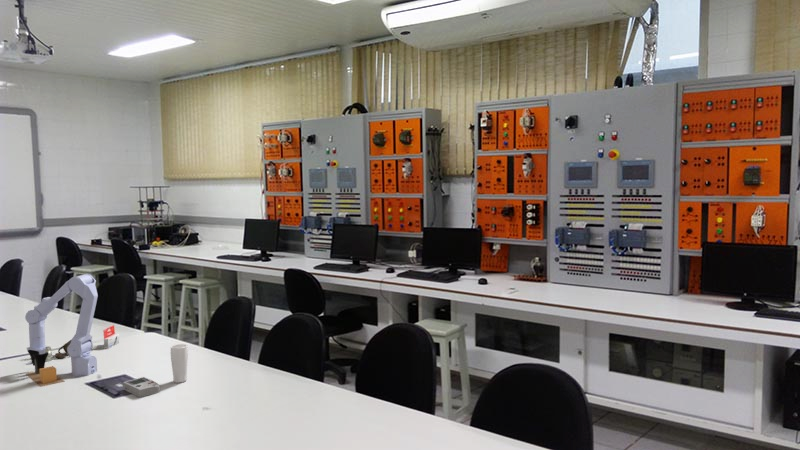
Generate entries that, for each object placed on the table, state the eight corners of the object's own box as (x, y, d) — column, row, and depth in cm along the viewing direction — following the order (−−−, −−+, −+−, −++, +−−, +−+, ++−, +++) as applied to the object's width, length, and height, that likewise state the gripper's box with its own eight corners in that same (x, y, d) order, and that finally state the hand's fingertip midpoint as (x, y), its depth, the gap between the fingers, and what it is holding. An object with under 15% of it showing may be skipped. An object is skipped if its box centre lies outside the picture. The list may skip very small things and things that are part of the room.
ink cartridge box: (119, 343, 308) (118, 324, 307) (108, 349, 297) (107, 330, 296) (114, 343, 308) (113, 324, 307) (103, 349, 297) (102, 330, 296)
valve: (56, 360, 278) (46, 355, 286) (55, 346, 278) (45, 342, 285) (41, 363, 273) (31, 359, 280) (40, 349, 273) (30, 345, 280)
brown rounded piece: (87, 342, 289) (76, 335, 294) (61, 346, 278) (50, 339, 283) (85, 356, 289) (73, 349, 294) (59, 360, 278) (47, 353, 283)
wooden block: (65, 383, 243) (64, 367, 243) (40, 389, 237) (39, 372, 237) (48, 371, 260) (48, 355, 260) (25, 375, 254) (24, 360, 254)
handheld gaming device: (139, 398, 227) (139, 389, 227) (122, 390, 236) (122, 381, 236) (161, 393, 233) (161, 383, 233) (144, 385, 243) (144, 376, 243)
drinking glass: (191, 380, 246) (190, 345, 245) (176, 385, 241) (175, 349, 240) (184, 377, 251) (182, 343, 250) (168, 381, 246) (167, 346, 245)
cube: (56, 380, 245) (56, 368, 244) (43, 383, 241) (42, 371, 241) (53, 377, 248) (52, 366, 248) (39, 380, 245) (39, 368, 244)
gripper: (22, 335, 256) (23, 365, 257) (30, 341, 246) (32, 372, 247) (40, 332, 261) (41, 362, 262) (49, 338, 251) (51, 369, 252)
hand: (38, 367), depth 255 cm, fingers open, 7 cm apart
